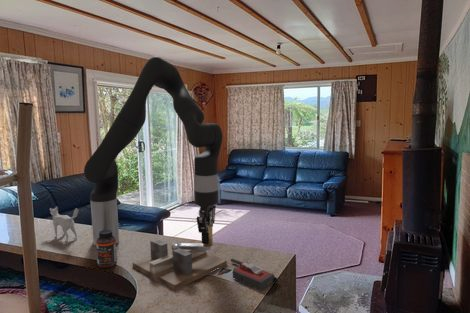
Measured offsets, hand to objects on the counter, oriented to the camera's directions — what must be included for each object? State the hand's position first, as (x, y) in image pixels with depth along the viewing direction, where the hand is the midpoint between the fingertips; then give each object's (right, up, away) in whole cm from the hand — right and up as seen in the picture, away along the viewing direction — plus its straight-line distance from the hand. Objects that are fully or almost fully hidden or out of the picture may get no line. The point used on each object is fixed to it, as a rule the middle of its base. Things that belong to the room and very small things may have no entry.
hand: (207, 240), depth 109 cm
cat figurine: (-58, -6, +28) cm, 65 cm away
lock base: (-10, -9, +2) cm, 13 cm away
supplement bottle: (-33, -9, +4) cm, 35 cm away
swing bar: (-5, -3, +1) cm, 5 cm away
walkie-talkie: (+13, -10, -4) cm, 17 cm away
